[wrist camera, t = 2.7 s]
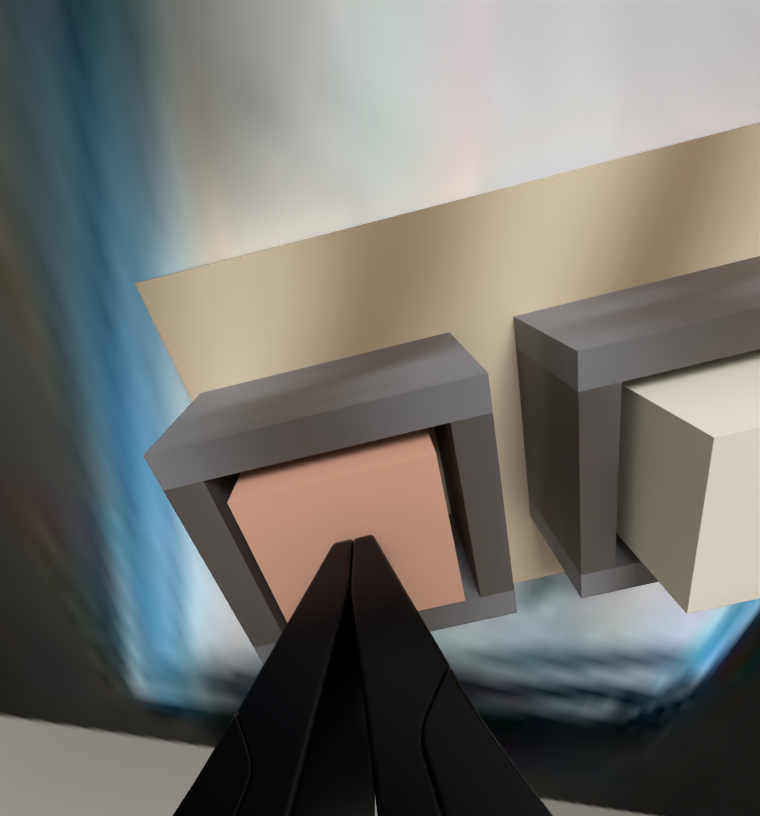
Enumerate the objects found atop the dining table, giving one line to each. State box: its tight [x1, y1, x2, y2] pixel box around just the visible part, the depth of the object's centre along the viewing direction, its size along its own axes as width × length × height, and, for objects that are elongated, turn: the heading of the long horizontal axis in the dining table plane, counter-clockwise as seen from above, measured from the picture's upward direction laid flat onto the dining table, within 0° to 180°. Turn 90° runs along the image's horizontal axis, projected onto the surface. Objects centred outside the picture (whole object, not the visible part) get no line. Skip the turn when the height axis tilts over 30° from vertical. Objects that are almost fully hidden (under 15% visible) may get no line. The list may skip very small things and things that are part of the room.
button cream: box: [616, 349, 760, 614], centre depth 8 cm, size 4×4×3 cm
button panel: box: [135, 123, 760, 664], centre depth 10 cm, size 23×12×4 cm, turn 103°
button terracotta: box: [227, 428, 466, 623], centre depth 9 cm, size 4×4×3 cm
